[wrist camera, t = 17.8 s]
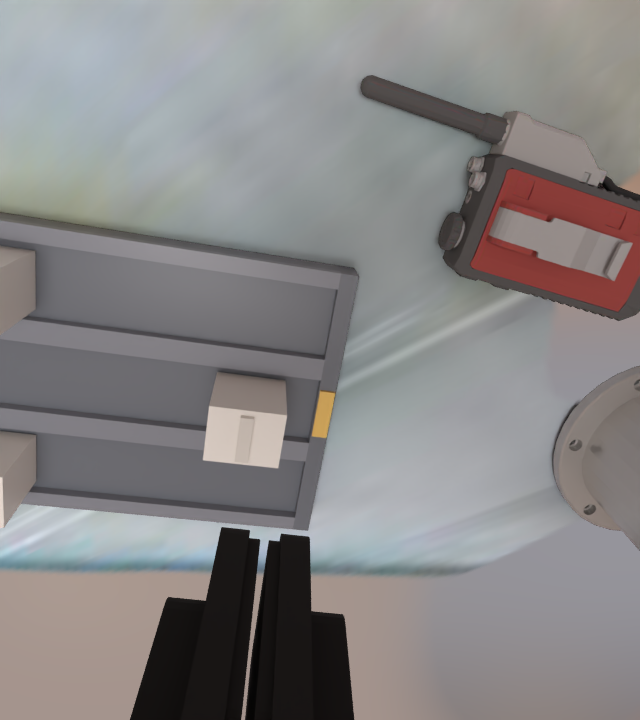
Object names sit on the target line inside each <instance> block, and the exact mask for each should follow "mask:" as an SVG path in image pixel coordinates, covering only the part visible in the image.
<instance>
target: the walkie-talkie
mask: <svg viewBox="0 0 640 720" xmlns="http://www.w3.org/2000/svg"><path fill="white" fill-rule="evenodd" d="M361 91H362V94H363V95H364V96H366V97H368V98H371V99H374V100H377V101H380V102H383V103H385V104H388V105H391V106H394V107H397V108H400V109H403V110H406V111H409V112H411V113H414V114H417V115H420V116H423V117H426V118H429V119H432V120H435V121H438V122H440V123H443V124H446V125H449V126H452V127H455V128H458V129H461V130H464V131H466V132H469V133H472V134H475V135H476V137H477V138H479V139H482V140H484V141H487V142H490V143H493V145H492V147H491V150H490V152H489V153H490V154H488V155H485V156H482V157H479V158H477V157H474V156H473V157H472V158H471V159H470V161H469V163H468V167H467V170H468V171H469V172H472V175H471V177H470V180H469V186H470V187H469V189H468V192H467V195H466V197H465V200H464V203H463V205H462V208H461V211H460V213H459V214H457V213H455V212H454V213H451V214H450V215H449V216H448V217H447V219H446V220H445V221H444V224H443V226H442V228H441V231H440V236H439V245H440V248H441V249H444V250H445V253H444V256H443V259H444V261H445V262H446V264H447V265H448V266H449V267H451V268H452V269H453V270H455V271H456V273H457V274H459V275H460V276H462V277H465V278H468V279H472V280H475V281H476V280H478V279H479V280H482V281H485V282H489V283H490V284H492V285H493V286H495V287H499V288H502V289H505V290H509V289H512V290H516V291H519V292H522V293H526V294H530V293H531V294H532V295H534V296H536V297H538V296H540V297H542V298H543V299H549V300H551V301H553V302H555V301H557V302H558V303H560V304H566V305H568V306H570V307H572V306H574V307H575V308H577V309H583V310H584V311H587V312H588V311H590V312H592V313H594V314H599V315H601V316H606V317H608V318H611V319H613V318H614V319H616V320H618V321H620V320H623V319H626V318H629V317H631V316H634V315H636V314H637V313H638V312H639V311H640V195H638V194H635V193H633V192H630V191H627V190H625V189H622V188H620V187H617V186H616V185H615V184H614V183H613V182H612V180H611V179H610V178H608V177H607V176H606V174H607V171H605V170H602V169H599V168H598V166H597V164H596V162H595V160H594V158H593V156H592V154H591V152H590V150H589V148H588V146H587V144H586V142H585V141H584V139H583V138H582V137H579V136H576V135H574V134H571V133H568V132H565V131H563V130H560V129H557V128H554V127H551V126H549V125H546V124H543V123H540V122H538V121H535V120H532V118H531V116H530V115H528V114H525V113H522V112H519V111H513V112H506V113H505V114H504V116H503V118H502V117H499V116H496V115H493V114H490V113H486V114H481V113H479V112H476V111H473V110H470V109H467V108H464V107H461V106H459V105H456V104H453V103H450V102H447V101H444V100H441V99H439V98H436V97H433V96H430V95H427V94H424V93H421V92H419V91H416V90H413V89H410V88H407V87H404V86H401V85H399V84H396V83H393V82H390V81H387V80H384V79H381V78H379V77H376V76H373V75H371V76H367V77H365V78H364V79H363V81H362V83H361ZM599 183H601V184H602V186H603V187H604V188H605V189H603V188H597V186H598V184H599ZM606 190H607V191H606Z"/></svg>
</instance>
